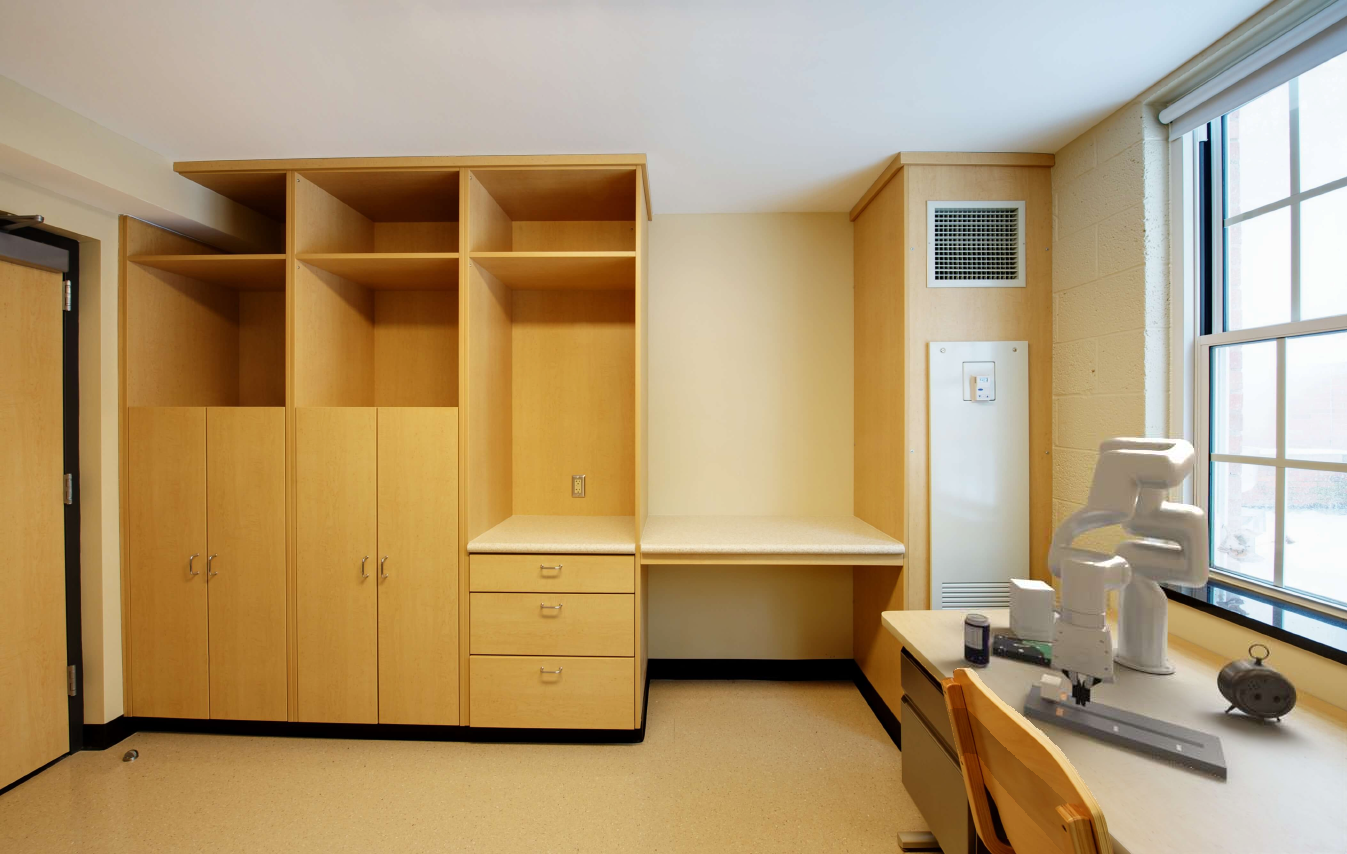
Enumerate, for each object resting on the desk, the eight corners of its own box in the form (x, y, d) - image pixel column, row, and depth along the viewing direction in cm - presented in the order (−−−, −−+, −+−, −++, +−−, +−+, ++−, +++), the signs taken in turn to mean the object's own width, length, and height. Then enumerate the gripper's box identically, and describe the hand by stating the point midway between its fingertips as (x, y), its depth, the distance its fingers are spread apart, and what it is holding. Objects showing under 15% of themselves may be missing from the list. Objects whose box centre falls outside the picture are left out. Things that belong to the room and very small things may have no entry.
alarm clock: (1281, 718, 111) (1283, 642, 110) (1301, 732, 106) (1303, 653, 105) (1214, 708, 114) (1216, 635, 114) (1231, 722, 109) (1233, 645, 109)
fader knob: (1043, 692, 117) (1043, 673, 116) (1061, 698, 114) (1061, 678, 114) (1040, 701, 113) (1040, 681, 113) (1058, 706, 111) (1059, 686, 111)
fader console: (1032, 692, 121) (1032, 684, 121) (1218, 747, 101) (1218, 736, 101) (1023, 715, 112) (1023, 705, 112) (1226, 779, 92) (1226, 768, 92)
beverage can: (993, 669, 132) (993, 622, 132) (968, 667, 134) (968, 620, 133) (984, 658, 138) (984, 613, 138) (960, 657, 139) (961, 612, 139)
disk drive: (992, 657, 140) (1061, 671, 132) (992, 647, 140) (1061, 660, 132) (994, 643, 149) (1058, 655, 141) (993, 633, 149) (1058, 645, 141)
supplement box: (1055, 643, 147) (1056, 590, 147) (1019, 639, 150) (1019, 587, 149) (1042, 630, 156) (1043, 580, 156) (1008, 627, 158) (1009, 578, 158)
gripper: (1036, 612, 112) (1035, 697, 113) (1128, 632, 102) (1127, 724, 103) (1041, 603, 118) (1040, 684, 118) (1130, 621, 108) (1128, 709, 108)
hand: (1081, 702), depth 110 cm, fingers closed
